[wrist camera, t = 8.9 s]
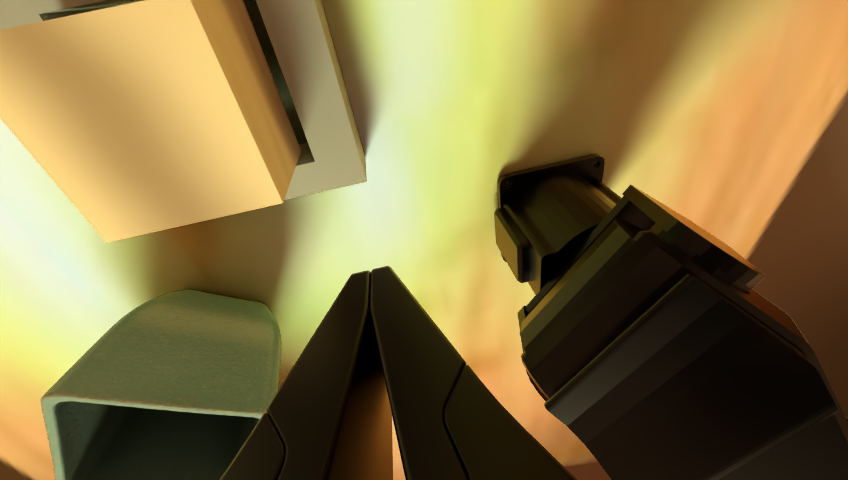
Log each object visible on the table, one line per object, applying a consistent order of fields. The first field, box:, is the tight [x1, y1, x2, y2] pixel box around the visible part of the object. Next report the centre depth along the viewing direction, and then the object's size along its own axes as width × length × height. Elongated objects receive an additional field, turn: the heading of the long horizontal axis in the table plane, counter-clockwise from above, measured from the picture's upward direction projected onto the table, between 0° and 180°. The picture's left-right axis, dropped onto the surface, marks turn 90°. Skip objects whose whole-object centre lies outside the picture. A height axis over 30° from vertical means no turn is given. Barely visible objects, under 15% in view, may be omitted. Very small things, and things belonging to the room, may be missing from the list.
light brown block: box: [0, 0, 301, 243], centre depth 12 cm, size 6×6×5 cm
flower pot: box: [41, 289, 281, 480], centre depth 21 cm, size 9×9×9 cm
